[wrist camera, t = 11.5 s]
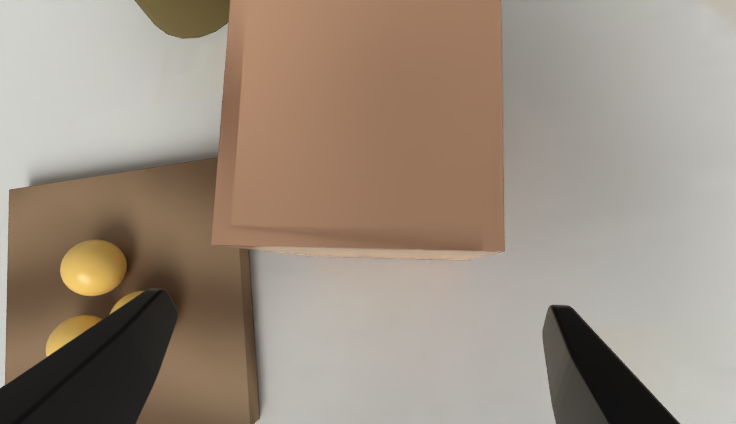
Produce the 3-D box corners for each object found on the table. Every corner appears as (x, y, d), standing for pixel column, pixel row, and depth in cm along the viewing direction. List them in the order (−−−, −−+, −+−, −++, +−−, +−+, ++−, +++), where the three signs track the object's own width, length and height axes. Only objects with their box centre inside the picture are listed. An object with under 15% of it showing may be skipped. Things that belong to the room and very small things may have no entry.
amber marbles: (191, 333, 19) (156, 342, 17) (86, 375, 19) (37, 390, 17) (158, 222, 20) (121, 215, 18) (59, 264, 20) (9, 263, 18)
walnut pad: (259, 418, 19) (250, 426, 18) (24, 434, 20) (3, 443, 19) (242, 160, 21) (233, 155, 20) (27, 193, 22) (9, 189, 21)
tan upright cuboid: (468, 260, 18) (505, 251, 10) (310, 256, 19) (211, 245, 11) (468, 103, 19) (500, -36, 11) (317, 107, 20) (231, -16, 12)
